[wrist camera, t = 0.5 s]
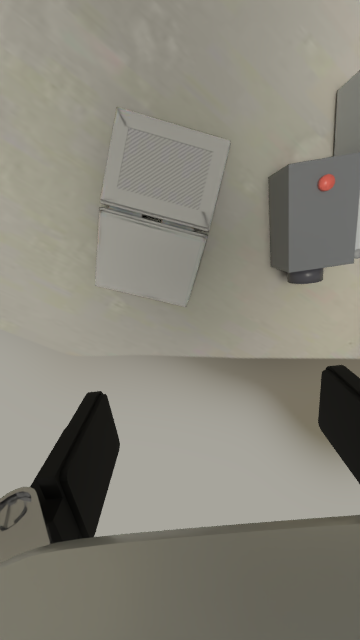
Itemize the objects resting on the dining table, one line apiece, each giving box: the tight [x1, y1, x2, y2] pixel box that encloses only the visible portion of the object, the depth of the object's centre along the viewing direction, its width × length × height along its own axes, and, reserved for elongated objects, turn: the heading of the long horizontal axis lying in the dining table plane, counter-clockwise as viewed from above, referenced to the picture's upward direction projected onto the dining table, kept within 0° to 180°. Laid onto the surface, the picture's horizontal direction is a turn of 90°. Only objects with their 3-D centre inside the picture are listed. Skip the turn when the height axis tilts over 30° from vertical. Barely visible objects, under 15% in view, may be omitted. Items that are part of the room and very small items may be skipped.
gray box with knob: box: [269, 152, 360, 284], centre depth 31 cm, size 14×8×7 cm, turn 9°
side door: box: [334, 70, 360, 259], centre depth 30 cm, size 20×2×6 cm, turn 9°
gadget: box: [95, 107, 231, 307], centre depth 33 cm, size 23×15×4 cm, turn 166°
